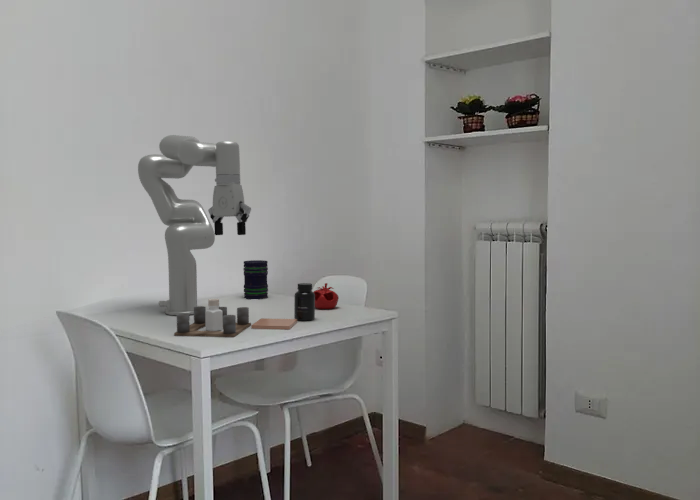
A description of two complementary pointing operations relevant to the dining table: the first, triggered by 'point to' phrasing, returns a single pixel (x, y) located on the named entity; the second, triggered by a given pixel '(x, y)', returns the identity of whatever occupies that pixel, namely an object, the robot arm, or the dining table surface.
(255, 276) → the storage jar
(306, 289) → the supplement bottle
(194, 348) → the dining table surface
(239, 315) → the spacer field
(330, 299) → the pomegranate
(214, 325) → the pepper shaker
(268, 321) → the terracotta tile
